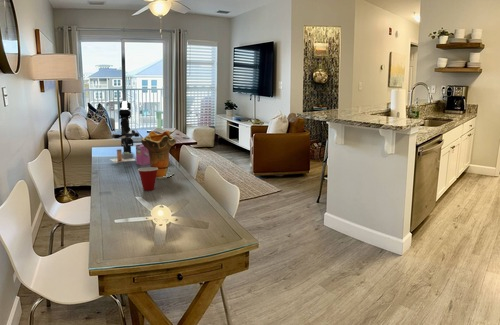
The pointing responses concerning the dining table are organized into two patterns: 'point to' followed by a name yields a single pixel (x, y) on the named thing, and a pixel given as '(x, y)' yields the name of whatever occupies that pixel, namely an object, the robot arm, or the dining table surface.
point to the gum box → (142, 155)
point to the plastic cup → (148, 177)
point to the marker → (119, 154)
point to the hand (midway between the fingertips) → (126, 146)
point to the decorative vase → (159, 151)
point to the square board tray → (124, 158)
